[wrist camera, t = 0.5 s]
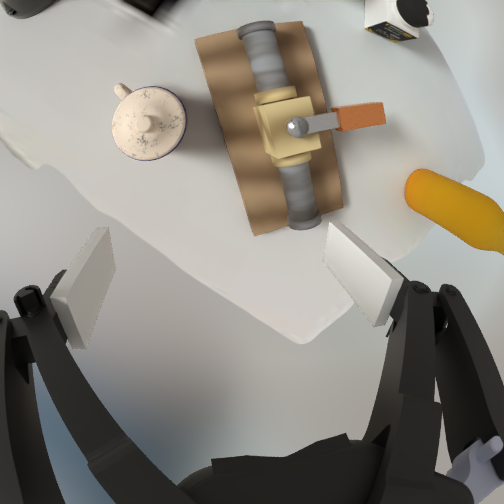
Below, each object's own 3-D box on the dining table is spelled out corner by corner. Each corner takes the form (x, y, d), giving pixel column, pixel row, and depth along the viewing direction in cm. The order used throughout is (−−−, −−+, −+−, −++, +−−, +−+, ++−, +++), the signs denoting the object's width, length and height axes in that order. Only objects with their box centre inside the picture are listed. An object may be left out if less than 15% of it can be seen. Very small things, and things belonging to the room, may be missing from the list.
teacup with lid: (201, 123, 36) (203, 125, 26) (155, 164, 38) (140, 182, 27) (150, 68, 30) (133, 50, 20) (105, 110, 32) (73, 110, 22)
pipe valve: (194, 42, 30) (194, 23, 22) (297, 24, 30) (321, 7, 23) (252, 231, 46) (264, 257, 38) (338, 203, 46) (364, 223, 39)
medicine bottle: (363, 29, 32) (407, 15, 21) (364, -1, 28) (404, -18, 18) (394, 43, 33) (440, 35, 23) (394, 14, 30) (437, 3, 19)
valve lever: (287, 140, 31) (292, 142, 30) (281, 117, 30) (286, 117, 28) (377, 122, 32) (386, 123, 30) (374, 102, 30) (382, 102, 29)
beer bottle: (421, 158, 45) (540, 212, 20) (437, 187, 49) (540, 247, 24) (396, 190, 47) (514, 262, 22) (414, 217, 51) (515, 290, 26)
